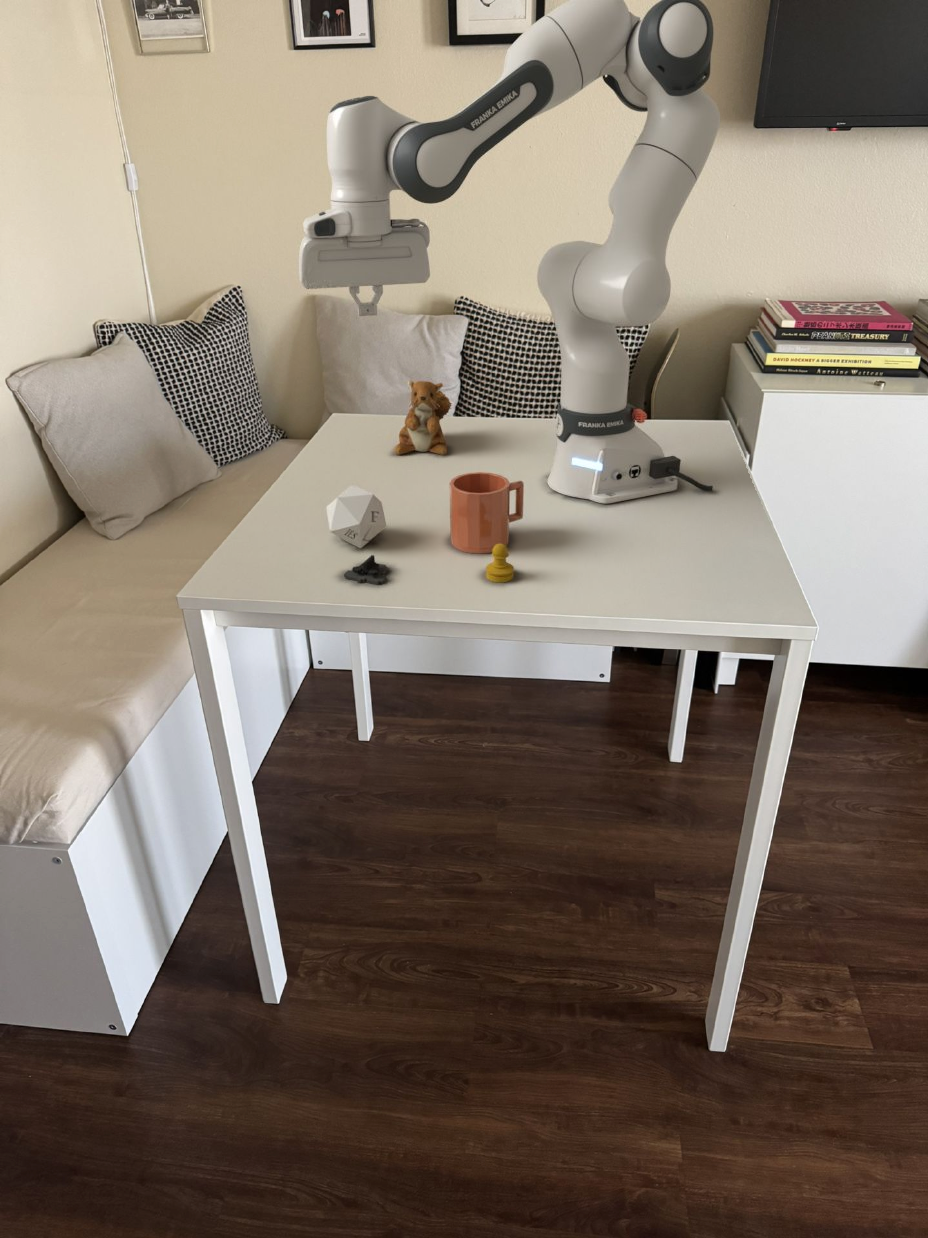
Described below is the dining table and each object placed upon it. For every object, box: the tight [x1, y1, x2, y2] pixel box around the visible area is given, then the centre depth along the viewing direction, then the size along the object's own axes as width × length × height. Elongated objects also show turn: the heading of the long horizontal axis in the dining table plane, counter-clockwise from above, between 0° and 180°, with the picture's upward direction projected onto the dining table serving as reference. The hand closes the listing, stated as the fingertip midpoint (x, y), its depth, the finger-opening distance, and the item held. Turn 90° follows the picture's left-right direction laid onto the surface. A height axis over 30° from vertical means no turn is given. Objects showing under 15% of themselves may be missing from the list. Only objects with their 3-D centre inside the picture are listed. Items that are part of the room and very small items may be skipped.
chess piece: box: [485, 544, 515, 583], centre depth 126 cm, size 4×4×5 cm
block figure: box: [343, 554, 390, 586], centre depth 128 cm, size 6×2×6 cm
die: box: [325, 484, 387, 550], centre depth 136 cm, size 8×9×10 cm
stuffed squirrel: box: [393, 380, 452, 456], centre depth 172 cm, size 10×14×13 cm
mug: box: [449, 471, 525, 555], centre depth 136 cm, size 12×9×10 cm
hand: (367, 315), depth 143 cm, fingers closed
